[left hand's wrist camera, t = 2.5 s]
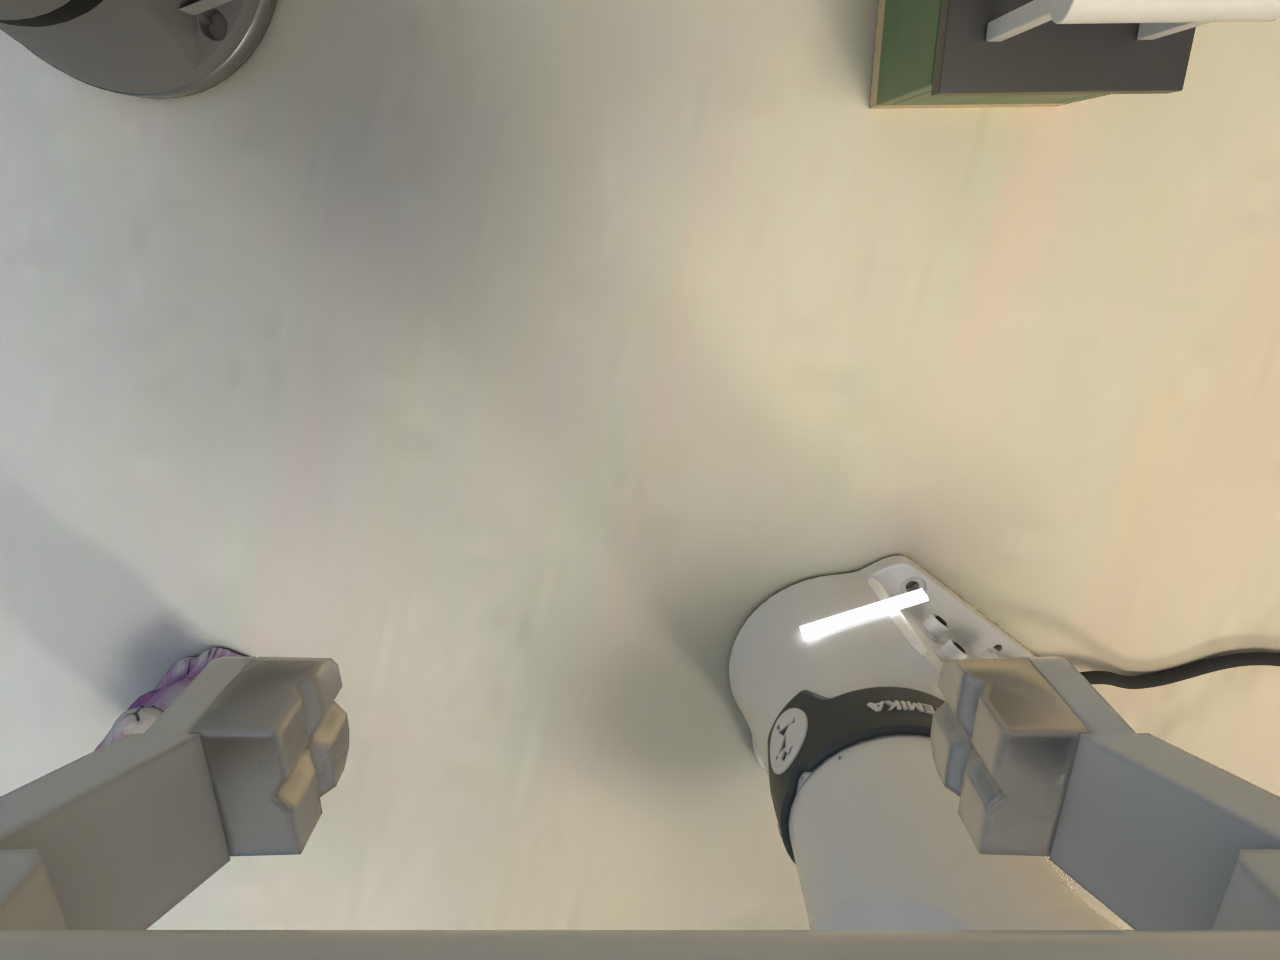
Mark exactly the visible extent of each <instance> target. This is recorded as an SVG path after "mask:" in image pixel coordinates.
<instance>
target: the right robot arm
mask: <svg viewBox="0 0 1280 960" xmlns="http://www.w3.org/2000/svg"><path fill="white" fill-rule="evenodd" d="M275 4H276V0H0V29H1V30H2V31H4V32H5V33H7V34H8V35H9V36H11V37H12V38H14V39H15V40H16V41H18V42H19V43H21V44H22V45H24V46H25V47H26V48H27V49H28V50H30V51H31V52H32V53H33V54H35V55H36V56H38V57H39V58H41V59H42V60H43V61H45V62H46V63H48V64H50V65H51V66H53V67H55V68H56V69H58V70H60V71H62V72H64V73H66V74H68V75H70V76H71V77H73V78H76V79H78V80H80V81H82V82H84V83H86V84H89V85H92V86H95V87H98V88H100V89H104V90H108V91H112V92H116V93H121V94H126V95H131V96H137V97H144V98H156V99H166V98H178V97H183V96H189V95H192V94H195V93H199V92H202V91H204V90H206V89H209V88H211V87H213V86H215V85H217V84H218V83H220V82H222V81H223V80H225V79H226V78H228V77H229V76H230V75H232V74H233V73H234V72H235V71H237V70H238V69H239V68H240V67H241V66H242V65H243V64H244V63H245V62H246V61H247V59H248V58H249V57H250V56H251V54H252V53H253V52H254V50H255V49H256V47H257V46H258V44H259V43H260V41H261V39H262V38H263V36H264V34H265V31H266V29H267V27H268V25H269V23H270V20H271V17H272V14H273V12H274V8H275Z"/></svg>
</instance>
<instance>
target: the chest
mask: <svg viewBox="0 0 1280 960" xmlns="http://www.w3.org/2000/svg"><path fill="white" fill-rule="evenodd" d="M941 1H942V0H879V3H878V14H877V26H876V38H875V49H874V61H873V72H872V84H871V96H870V107H869V108H941V107H1028V106H1060V105H1065V104H1069V103H1072V102H1076V101H1081V100H1086V99H1090V98H1095V97H1100V96H1105V95H1109V94H1064V95H978V96H931V91H932V82H933V73H934V64H935V55H936V46H937V37H938V28H939V19H940V10H941Z"/></svg>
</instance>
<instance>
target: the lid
mask: <svg viewBox="0 0 1280 960" xmlns="http://www.w3.org/2000/svg"><path fill="white" fill-rule="evenodd" d="M1279 17H1280V0H942V1H941V10H940V19H939V28H938V37H937V46H936V55H935V64H934V73H933V82H932V91H931V96H978V95H1064V94H1150V93H1172V92H1177V91H1181V90H1182V89H1183V84H1184V79H1185V75H1186V70H1187V65H1188V61H1189V56H1190V51H1191V47H1192V42H1193V37H1194V33H1195V28H1196V27H1197V26H1200V25H1203V24H1207V23H1210V22H1261V21H1273V20H1276V19H1278V18H1279Z"/></svg>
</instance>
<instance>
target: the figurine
mask: <svg viewBox="0 0 1280 960" xmlns="http://www.w3.org/2000/svg"><path fill="white" fill-rule="evenodd" d="M220 657H242V655H238V654H235V653H234V652H231V651H229V650H227V649H222V648H215V647H214V648H210V649H208V650H206V651H205V652H203V653H202V654H201V655H200V656H198V657H192V656H191V657H186V658H183V659H181V660H179V661H178V662H177V663H176V664H175V665H174V666H173V667H172V668H171V669H170V670H169V672H168V673H167V674H166V675H165V676H164V678H163V679H162V680H161V681H160V683H159V684H158V685H157V687H156V688H155V689H154V690H153V691H150V692H148V693H146V694H144V695H142V696H140V697H139V698H138V699H137V700H136V701H135V702H134V703H133V704H132V705H131V706H130V708H129V709H128V710H127V711H126V712H124V713H123V714H122V715H121V716H120V717H119V718H118V719H117V720H116V722H115V723H114V725H113V727H112V728H111V730H110V731H109V733H108V734H107V736H106V737H105V739H104V740H103V741H102V742H101V743H100V744H99V745H98V747H97V748H96V749H95V751H96V750H98V749H100V748H102V747H104V746H107V745H109V744H111V743H113V742H115V741H117V740H119V739H121V738H123V737H125V736H127V735H129V734H144V733H145V731H146V730H147V729H148V728H149V727H150V726H151V725H152V724H153V723H154V722H155V721H156V720H157V719H158V717H159V716H160V715H161V714H162V713H163V712H164V711H165V710H166V709H167V708H168V707H169V706H170V705H171V703H172V702H173V701H174V700H175V699H176V698H177V697H178V696H179V695H180V694H181V693H182V692H183V691H184V689H185V688H186V687H187V686H188V685H189V684H190V683H191V682H192V681H193V680H194V679H195V678H196V677H197V675H198V674H199V673H200V672H201V671H202V670H203V669H204V668H205V667H206V666H207V665H208V664H209V662H210V661H211V660H213V659H216V658H220Z"/></svg>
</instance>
